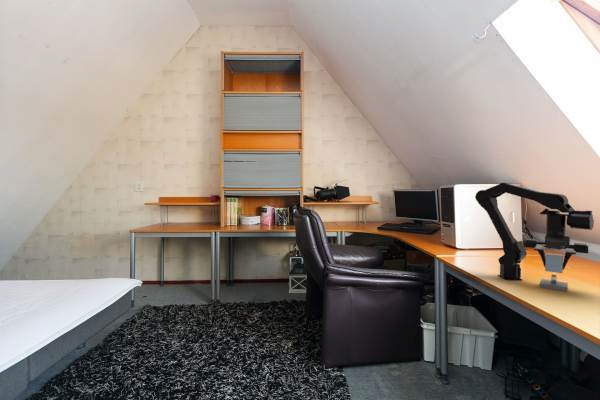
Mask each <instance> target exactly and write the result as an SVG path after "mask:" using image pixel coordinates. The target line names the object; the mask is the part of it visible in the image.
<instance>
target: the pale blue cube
mask: <svg viewBox="0 0 600 400" xmlns="http://www.w3.org/2000/svg"><path fill="white" fill-rule="evenodd" d="M545 256H546V262H545V267H544V271H545V272H550V273H556V274H557V273H558V274H563V273H564V272H563V271H564V270H563V262H564V254H557V253H556V254H555V253H548V252H547V253H545Z"/></svg>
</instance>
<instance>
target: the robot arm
mask: <svg viewBox="0 0 600 400" xmlns="http://www.w3.org/2000/svg"><path fill="white" fill-rule="evenodd" d="M504 194H510V195H512V196H516V197H521V198H524V199H526V200H531V201H534V202H536V203H538V204H539V205H542V206H543V207H545V208H544V209H543V210H542V211H541V212H539V214H540V215H542V216H543V215H546V221H545V222H546V223H545V225H546V226H545V236H544V241H538V240H539V239H536V238H526V239H525V240H524V242H523V241H522V240H520V241H519V240H517V239H516V238H515V237H514V235H513V234H512V231H511V229H510V227H509V226H508V224H507V222H506V221H505V218H504V216H503V214H502V213H501V211H500V209H499V207H498V199H497V198H499V197H500V196H503V195H504ZM474 198H475V200H476V202H477V203H478V204H479V206H480V207H481V208H482V209H483V210H484V211H486V213H487V216H488V217H489V219H490V221H491V223H492V224H493V226H494V228H495V230H496V233H497V234H498V237H499V238H500V240H501V242H502V250H503V253H504V254H503V255H501V256H500V257H499V258H498V259H497V260H498V263H499V274H497V276H498V277H499V278H501V279H503V280H505V281H523V279H522V268H521V264H520V263H521V262H522V261H523V260H524V259H526V257H527V254H528V253H527V252H528V249H527V248H530V249H531V248H532V249H533V248H534V249H533V250H534V251H537V252H538V254H539V256H540V258H541V260H542V265H543V267H544V268H545V262H546V249H548V250H551V249H553V250H554V249H555V250H565V254H564V256H563V271H564V270H565V269H566V266H567V264H568V262H569V260H570V258H571V257H572V256H573V255H577V254H589V245H588V244H587V243H580V242H574V243H573V244H570V243H571V242H570V241H571V236H566V227H567V226H568V227H570V229H572V230H573V229H574V230H586V231H592V230H593V229H594V224H595V223H594V221H595V220H594V217H593V216H594V215H593V211H592V210H575V209H574V208H573V207H572V206H571V204H570V203H569V198H568V197H567V196H566V195H564V194H563V193H562V194H561V193H555V192H554V193H553V192H545V191H544V192H543V191H537V190H535V189H530V188H526V187H523V186H519V185H516V184H515V185H514V184H511V183H509V182H500V183H498V184H496V185H495V186H492V187H489V188H486V189H480V190H478V191H477V192H476V193H475V195H474ZM560 212H561V213H560Z"/></svg>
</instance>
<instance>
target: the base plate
mask: <svg viewBox="0 0 600 400" xmlns="http://www.w3.org/2000/svg"><path fill="white" fill-rule="evenodd" d="M550 277H551V279H546V278H541V279H540V281H539V288H544V289H548V290H555V291H563V292H568V287H569V286H568V285H569V282H565V281H558V280H557V279H558V277H557V274H551V276H550Z"/></svg>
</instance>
